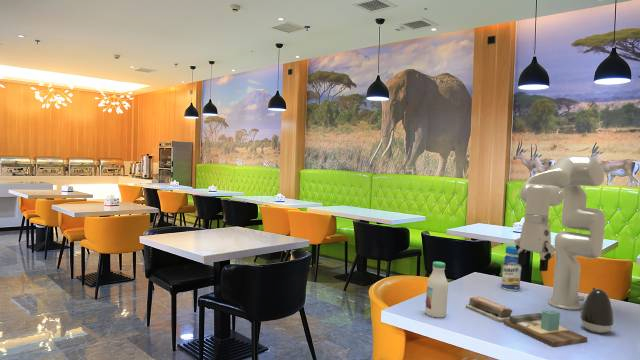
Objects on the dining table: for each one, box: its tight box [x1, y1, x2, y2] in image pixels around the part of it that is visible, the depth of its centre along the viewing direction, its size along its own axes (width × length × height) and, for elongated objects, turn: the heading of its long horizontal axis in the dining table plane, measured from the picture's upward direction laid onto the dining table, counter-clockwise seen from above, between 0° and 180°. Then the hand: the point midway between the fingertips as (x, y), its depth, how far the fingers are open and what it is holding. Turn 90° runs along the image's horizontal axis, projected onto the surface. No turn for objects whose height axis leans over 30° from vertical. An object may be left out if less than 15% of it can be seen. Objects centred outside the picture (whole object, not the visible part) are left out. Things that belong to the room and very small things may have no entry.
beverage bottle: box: [500, 245, 523, 292], centre depth 217 cm, size 8×8×20 cm
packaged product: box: [465, 296, 514, 323], centre depth 179 cm, size 18×5×10 cm
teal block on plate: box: [526, 309, 569, 334], centre depth 159 cm, size 13×6×6 cm, turn 113°
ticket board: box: [503, 312, 588, 348], centre depth 161 cm, size 16×21×4 cm
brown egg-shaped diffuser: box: [580, 287, 615, 334], centre depth 166 cm, size 10×10×15 cm
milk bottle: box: [424, 261, 449, 319], centre depth 173 cm, size 8×8×20 cm
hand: (532, 267), depth 163 cm, fingers open, 9 cm apart
